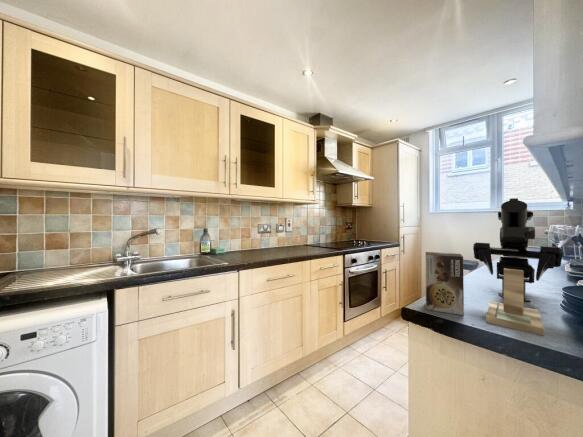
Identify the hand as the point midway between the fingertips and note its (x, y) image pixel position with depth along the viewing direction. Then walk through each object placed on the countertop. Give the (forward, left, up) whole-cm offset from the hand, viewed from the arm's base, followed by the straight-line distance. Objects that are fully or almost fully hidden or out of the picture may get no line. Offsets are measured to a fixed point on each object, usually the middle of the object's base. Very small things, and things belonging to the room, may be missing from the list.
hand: (513, 276), depth 65 cm
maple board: (+5, -2, -10) cm, 11 cm away
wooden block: (+3, -1, -9) cm, 9 cm away
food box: (+5, -17, -10) cm, 21 cm away
